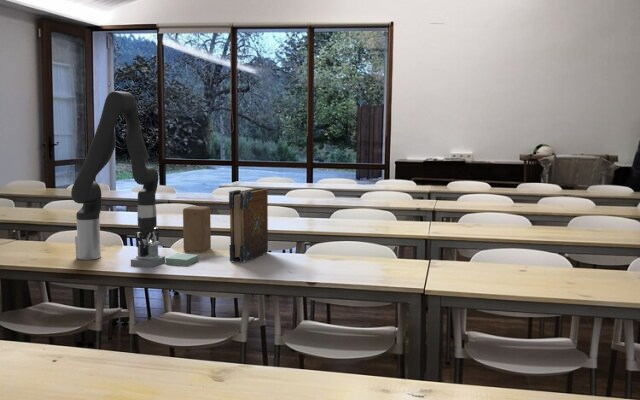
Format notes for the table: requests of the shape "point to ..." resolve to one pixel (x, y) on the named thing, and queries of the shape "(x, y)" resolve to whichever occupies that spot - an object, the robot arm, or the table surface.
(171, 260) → the stand
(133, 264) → the stand
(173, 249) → the table surface
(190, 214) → the wooden block
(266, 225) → the decorative book
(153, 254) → the housing
